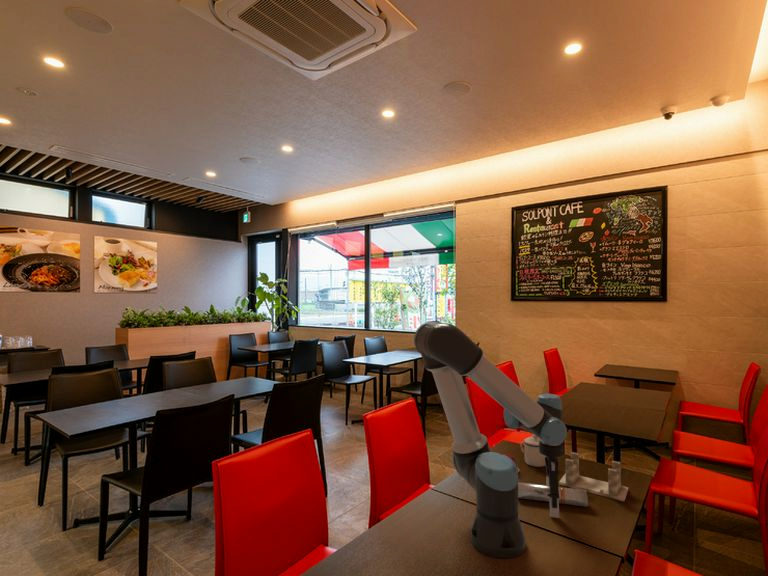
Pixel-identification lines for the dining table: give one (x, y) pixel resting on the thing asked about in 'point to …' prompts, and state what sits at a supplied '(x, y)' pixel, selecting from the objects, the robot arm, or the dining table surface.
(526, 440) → the teacup with lid
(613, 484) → the collar stand
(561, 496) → the steel tube
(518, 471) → the apple
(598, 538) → the dining table surface
